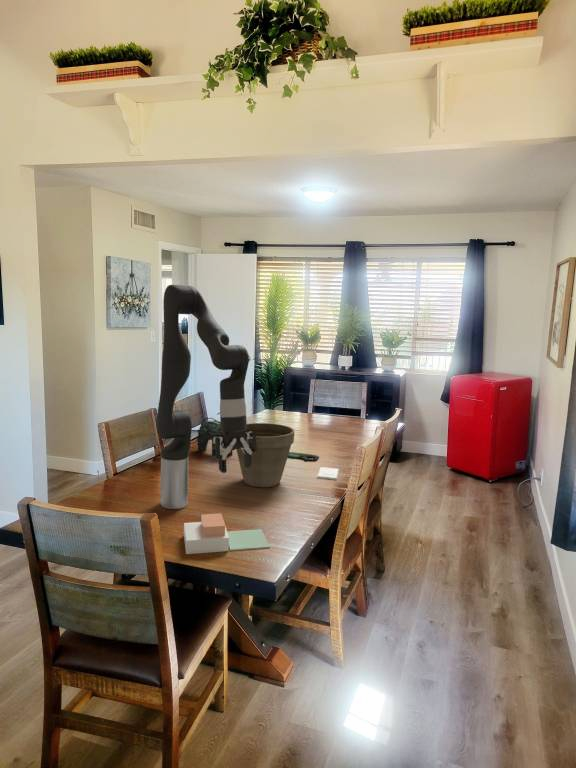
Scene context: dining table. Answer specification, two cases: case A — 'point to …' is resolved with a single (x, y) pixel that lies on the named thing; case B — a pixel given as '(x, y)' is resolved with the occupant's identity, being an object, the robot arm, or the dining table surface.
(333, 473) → the external hard drive
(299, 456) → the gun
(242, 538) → the green mat
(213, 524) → the terracotta tile
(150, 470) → the dining table surface
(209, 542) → the block
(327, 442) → the dining table surface
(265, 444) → the plant pot
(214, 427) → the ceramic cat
